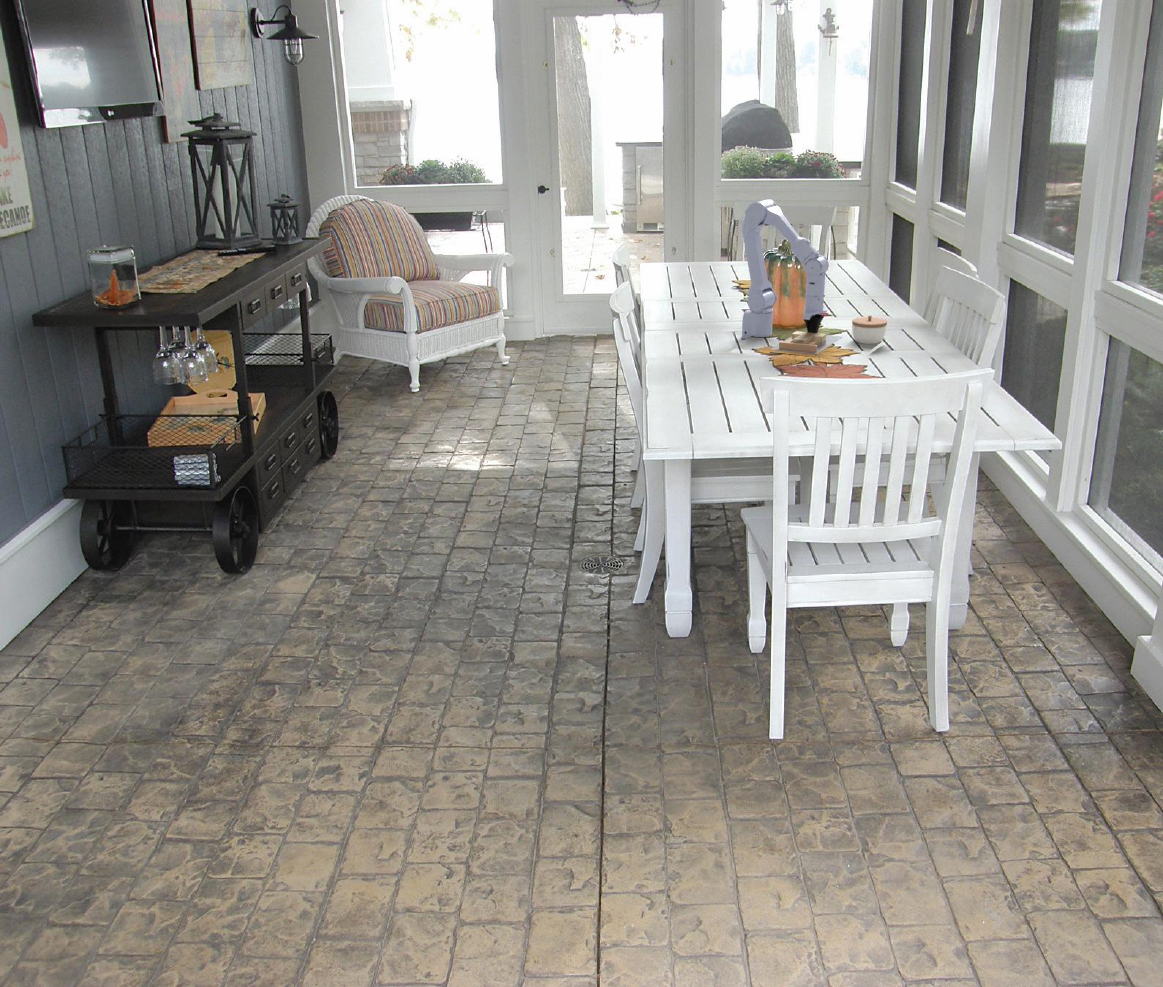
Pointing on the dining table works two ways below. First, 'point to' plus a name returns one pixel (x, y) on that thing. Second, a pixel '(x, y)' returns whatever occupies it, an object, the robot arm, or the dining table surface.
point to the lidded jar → (868, 329)
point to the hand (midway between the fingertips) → (812, 337)
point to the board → (804, 346)
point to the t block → (809, 338)
